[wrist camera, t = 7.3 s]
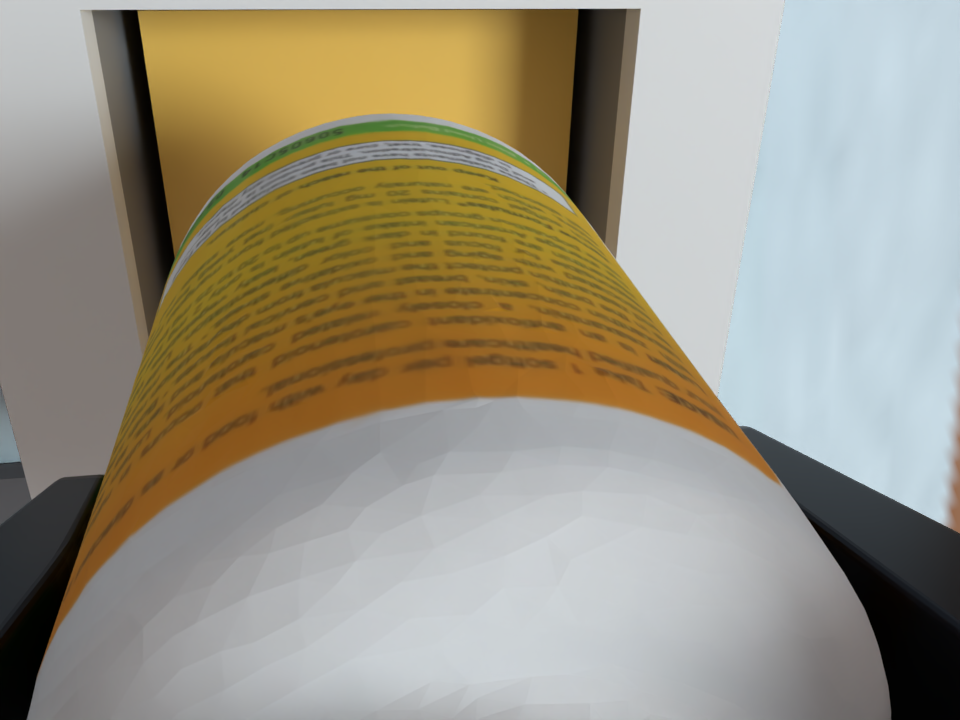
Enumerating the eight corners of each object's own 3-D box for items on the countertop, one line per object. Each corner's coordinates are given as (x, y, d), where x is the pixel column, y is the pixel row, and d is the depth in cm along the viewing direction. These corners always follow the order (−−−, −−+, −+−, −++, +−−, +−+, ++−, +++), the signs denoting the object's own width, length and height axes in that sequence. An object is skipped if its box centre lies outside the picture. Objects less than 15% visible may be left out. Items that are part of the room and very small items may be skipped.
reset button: (512, 286, 20) (552, 375, 17) (216, 301, 19) (196, 398, 16) (524, -24, 17) (578, 9, 14) (173, -24, 16) (138, 10, 13)
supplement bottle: (69, 266, 11) (-832, 1814, 2) (463, 7, 10) (1279, 844, 2) (336, 551, 13) (380, 1755, 5) (662, 362, 13) (1363, 1380, 4)
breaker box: (604, 350, 22) (698, 511, 16) (118, 379, 20) (50, 568, 15) (651, -128, 17) (805, -118, 12) (15, -142, 15) (-141, -137, 10)
